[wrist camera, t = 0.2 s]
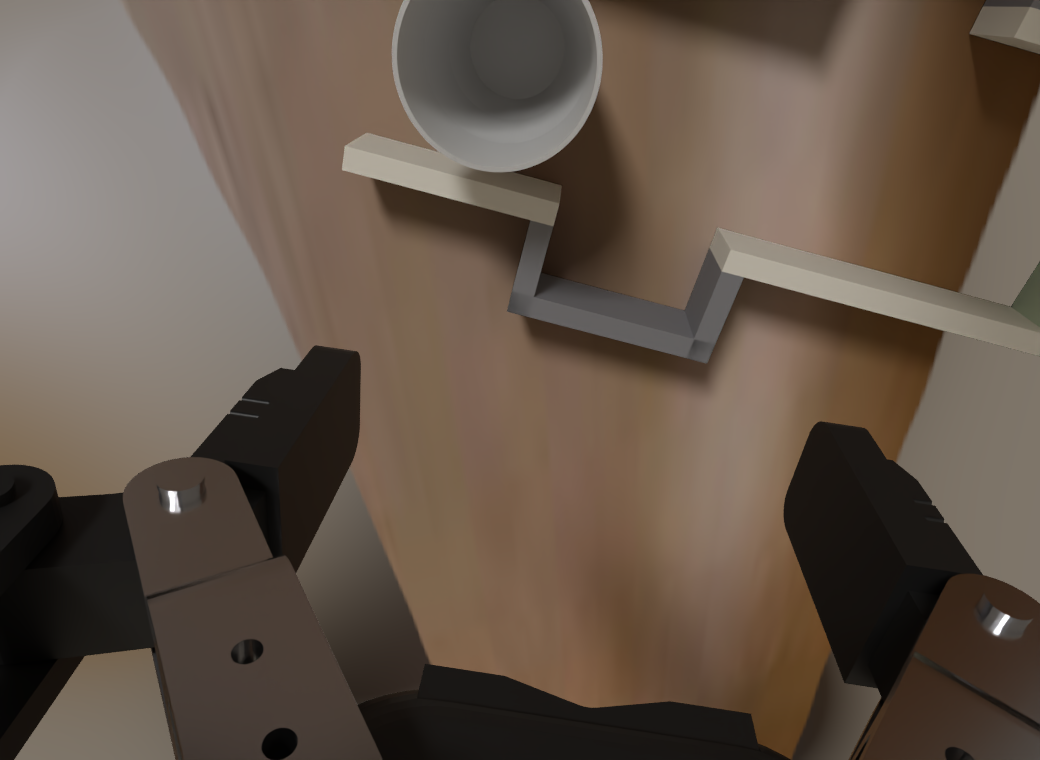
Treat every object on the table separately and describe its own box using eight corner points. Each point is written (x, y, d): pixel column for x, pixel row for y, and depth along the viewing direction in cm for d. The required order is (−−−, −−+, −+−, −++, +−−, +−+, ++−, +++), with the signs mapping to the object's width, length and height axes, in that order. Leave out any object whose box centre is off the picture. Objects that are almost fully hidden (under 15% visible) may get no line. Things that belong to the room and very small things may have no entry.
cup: (594, -53, 33) (598, -73, 25) (600, 126, 37) (606, 164, 28) (427, -34, 34) (373, -47, 25) (450, 138, 38) (410, 179, 29)
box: (426, -312, 29) (404, -355, 26) (1272, -57, 31) (1360, -64, 28) (351, 242, 41) (330, 265, 38) (969, 405, 43) (1003, 441, 40)
